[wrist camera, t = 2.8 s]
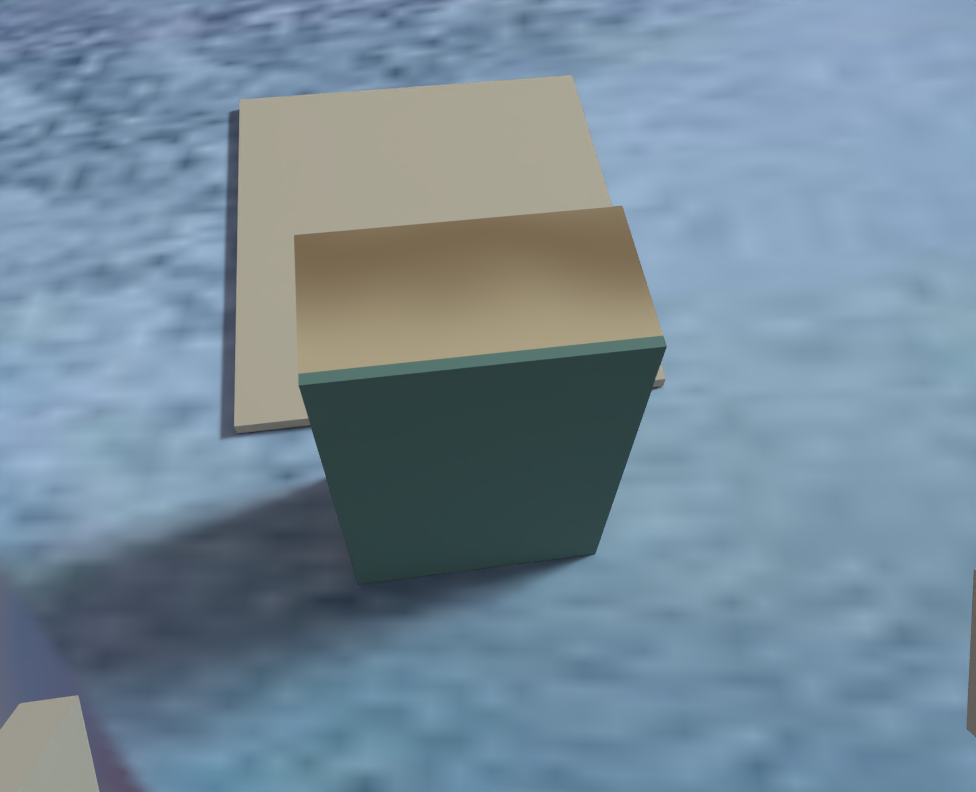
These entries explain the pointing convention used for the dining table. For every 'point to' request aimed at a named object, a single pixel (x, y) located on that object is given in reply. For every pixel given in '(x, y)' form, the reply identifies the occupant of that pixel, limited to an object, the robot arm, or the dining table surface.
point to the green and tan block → (474, 384)
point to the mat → (385, 193)
